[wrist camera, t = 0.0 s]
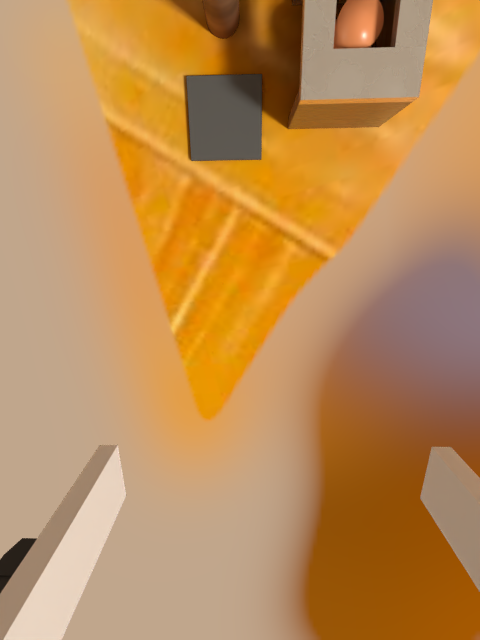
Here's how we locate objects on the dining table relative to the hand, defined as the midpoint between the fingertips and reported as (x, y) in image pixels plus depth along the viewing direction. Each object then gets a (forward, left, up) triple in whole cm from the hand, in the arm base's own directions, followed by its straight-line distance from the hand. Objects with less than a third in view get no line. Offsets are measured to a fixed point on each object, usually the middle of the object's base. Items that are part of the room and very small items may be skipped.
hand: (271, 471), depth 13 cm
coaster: (-21, -3, -28) cm, 35 cm away
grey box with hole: (-26, +9, -28) cm, 39 cm away
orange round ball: (-26, +9, -26) cm, 38 cm away
